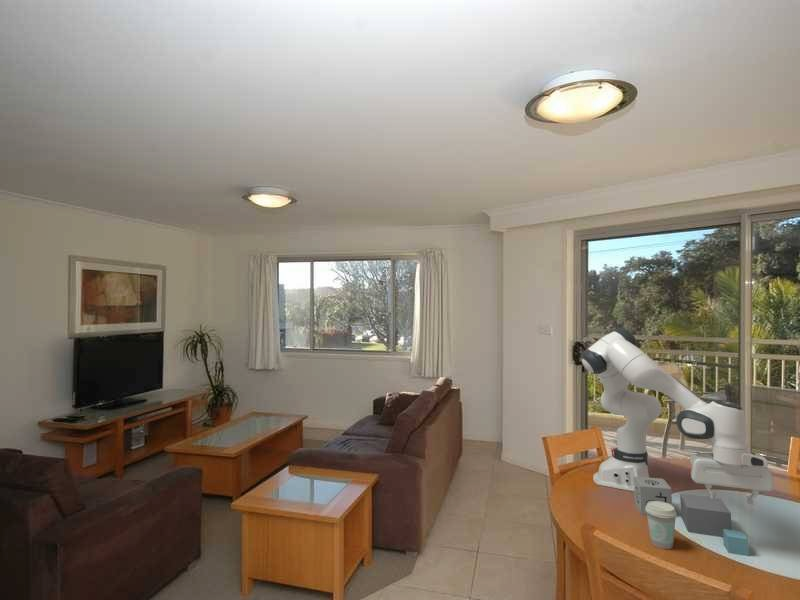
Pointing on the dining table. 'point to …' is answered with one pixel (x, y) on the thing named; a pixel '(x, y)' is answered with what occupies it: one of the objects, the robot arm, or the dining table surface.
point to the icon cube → (650, 492)
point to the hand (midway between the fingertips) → (731, 501)
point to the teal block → (735, 542)
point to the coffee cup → (661, 523)
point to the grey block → (705, 515)
